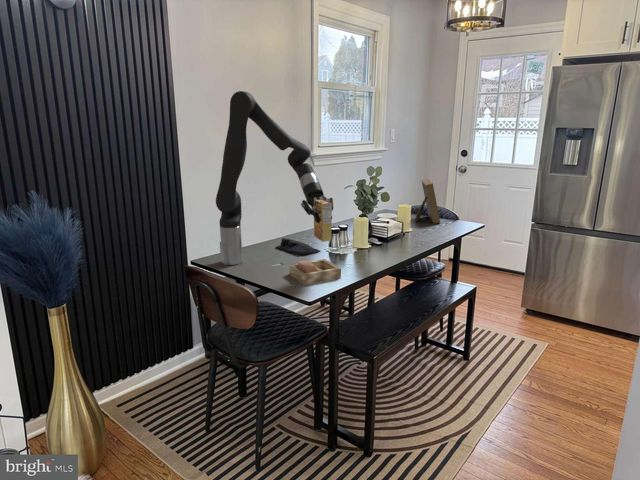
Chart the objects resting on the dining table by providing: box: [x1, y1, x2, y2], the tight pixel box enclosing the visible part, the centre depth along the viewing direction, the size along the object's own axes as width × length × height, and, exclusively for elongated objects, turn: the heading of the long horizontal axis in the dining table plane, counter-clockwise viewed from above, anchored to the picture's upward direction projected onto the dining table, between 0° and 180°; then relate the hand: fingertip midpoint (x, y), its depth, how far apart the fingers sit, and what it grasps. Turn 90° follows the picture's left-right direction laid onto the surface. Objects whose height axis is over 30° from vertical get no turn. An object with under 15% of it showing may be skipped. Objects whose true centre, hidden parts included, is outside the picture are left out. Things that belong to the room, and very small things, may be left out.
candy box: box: [313, 200, 333, 243], centre depth 177 cm, size 9×4×15 cm, turn 25°
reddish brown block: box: [297, 259, 315, 273], centre depth 179 cm, size 4×8×6 cm, turn 27°
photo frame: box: [414, 178, 441, 225], centre depth 282 cm, size 15×22×25 cm
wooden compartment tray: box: [288, 258, 342, 286], centre depth 181 cm, size 16×14×6 cm
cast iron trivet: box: [275, 237, 321, 256], centre depth 223 cm, size 15×22×5 cm
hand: (324, 221), depth 176 cm, fingers closed on candy box, 4 cm apart
